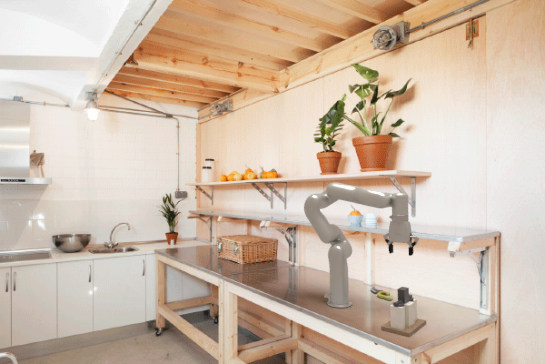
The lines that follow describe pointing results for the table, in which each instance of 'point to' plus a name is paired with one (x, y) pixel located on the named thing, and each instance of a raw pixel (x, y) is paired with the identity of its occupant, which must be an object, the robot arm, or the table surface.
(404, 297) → the grey bar with discs
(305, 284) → the table surface
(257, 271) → the table surface
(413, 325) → the boxes on tan tray
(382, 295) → the curved yellow hook
